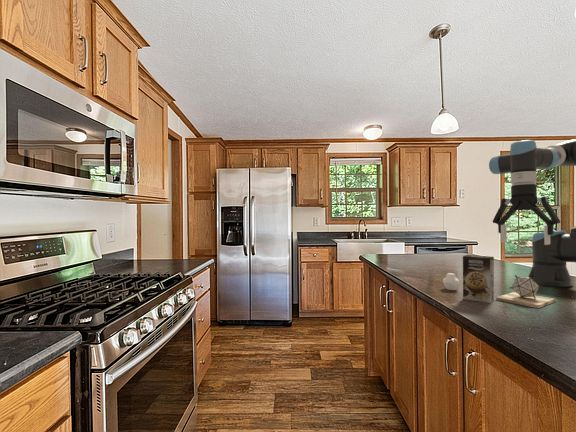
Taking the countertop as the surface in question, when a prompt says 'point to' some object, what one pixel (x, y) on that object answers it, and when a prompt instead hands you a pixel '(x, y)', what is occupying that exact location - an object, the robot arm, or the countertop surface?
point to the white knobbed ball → (451, 281)
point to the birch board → (526, 300)
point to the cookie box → (478, 278)
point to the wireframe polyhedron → (525, 286)
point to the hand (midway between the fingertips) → (524, 243)
